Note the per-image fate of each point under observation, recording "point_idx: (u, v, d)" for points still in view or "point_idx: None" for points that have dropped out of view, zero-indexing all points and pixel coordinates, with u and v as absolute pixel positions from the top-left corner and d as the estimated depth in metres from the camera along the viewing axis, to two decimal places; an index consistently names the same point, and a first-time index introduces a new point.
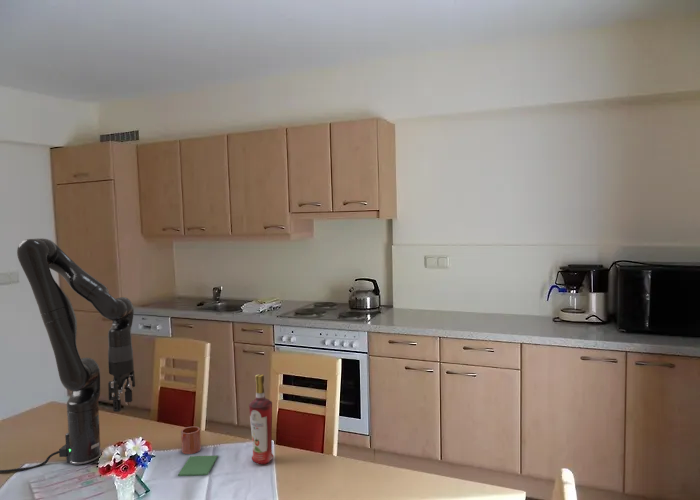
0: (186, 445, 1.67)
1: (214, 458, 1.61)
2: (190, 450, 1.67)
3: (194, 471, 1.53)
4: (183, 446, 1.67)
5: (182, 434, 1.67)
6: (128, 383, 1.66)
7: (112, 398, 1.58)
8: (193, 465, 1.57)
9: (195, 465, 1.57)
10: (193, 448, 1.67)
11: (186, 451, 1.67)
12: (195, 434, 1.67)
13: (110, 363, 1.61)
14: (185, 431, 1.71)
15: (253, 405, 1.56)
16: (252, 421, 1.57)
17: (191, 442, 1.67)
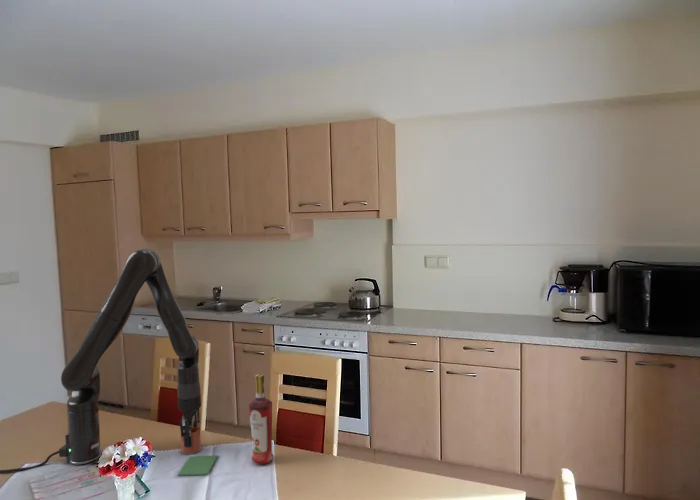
0: None
1: (214, 458, 1.61)
2: (190, 450, 1.67)
3: (194, 471, 1.53)
4: (183, 446, 1.67)
5: None
6: (195, 418, 1.71)
7: (184, 435, 1.63)
8: (193, 465, 1.57)
9: (195, 465, 1.57)
10: (193, 448, 1.67)
11: (186, 451, 1.67)
12: (195, 434, 1.67)
13: (180, 400, 1.66)
14: None
15: (253, 405, 1.56)
16: (252, 421, 1.57)
17: None
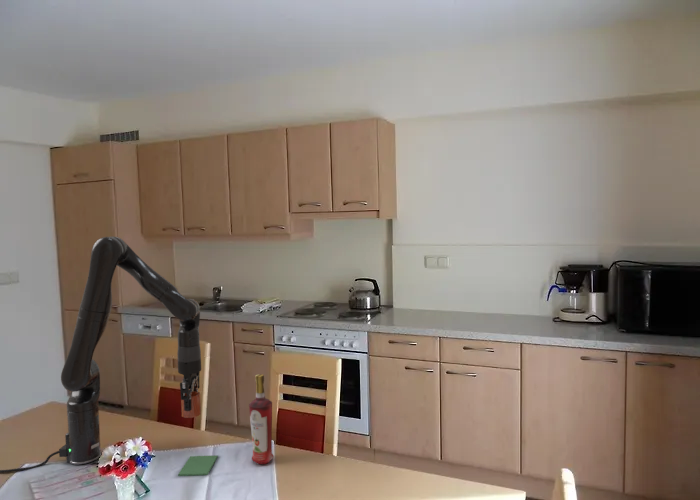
0: None
1: (214, 458, 1.61)
2: (190, 414, 1.66)
3: (194, 471, 1.53)
4: (183, 410, 1.66)
5: None
6: (195, 383, 1.70)
7: (184, 398, 1.62)
8: (193, 465, 1.57)
9: (195, 465, 1.57)
10: (193, 412, 1.66)
11: (186, 415, 1.66)
12: (195, 398, 1.66)
13: (180, 363, 1.65)
14: None
15: (253, 405, 1.56)
16: (252, 421, 1.57)
17: (191, 406, 1.66)
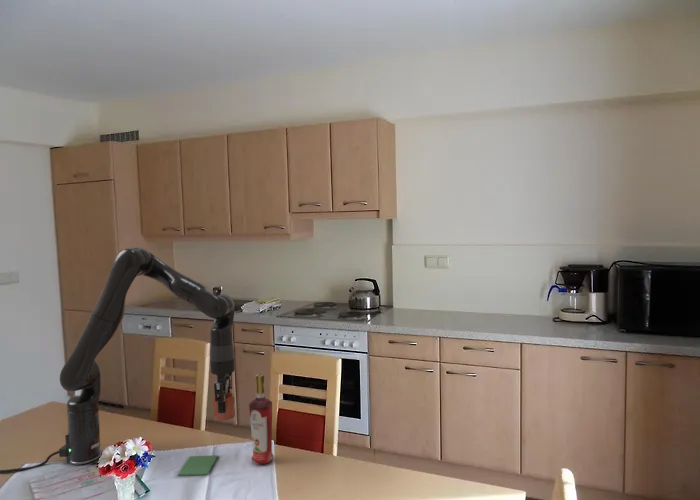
0: None
1: (214, 458, 1.61)
2: (224, 416, 1.57)
3: (194, 471, 1.53)
4: (217, 412, 1.57)
5: None
6: (228, 384, 1.61)
7: (219, 399, 1.53)
8: (193, 465, 1.57)
9: (195, 465, 1.57)
10: (227, 414, 1.57)
11: (220, 417, 1.57)
12: (229, 399, 1.57)
13: (213, 362, 1.56)
14: None
15: (253, 405, 1.56)
16: (252, 421, 1.57)
17: None
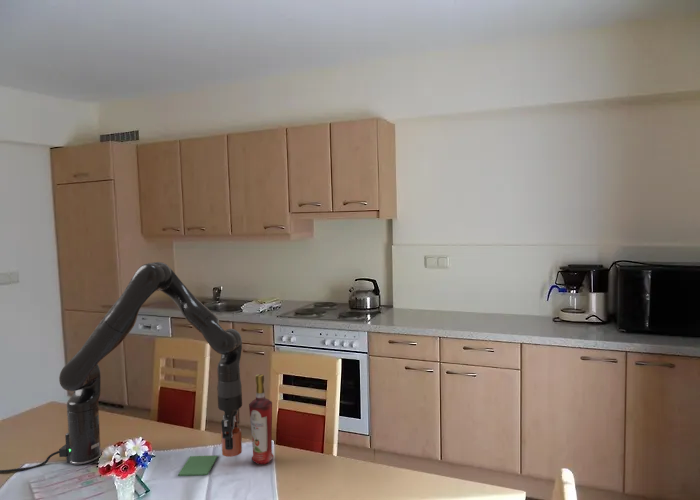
0: None
1: (214, 458, 1.61)
2: (231, 452, 1.56)
3: (194, 471, 1.53)
4: (224, 448, 1.56)
5: None
6: (235, 419, 1.60)
7: (226, 436, 1.52)
8: (193, 465, 1.57)
9: (195, 465, 1.57)
10: (235, 450, 1.56)
11: (227, 453, 1.56)
12: (237, 435, 1.56)
13: (221, 398, 1.55)
14: None
15: (253, 405, 1.56)
16: (252, 421, 1.57)
17: None
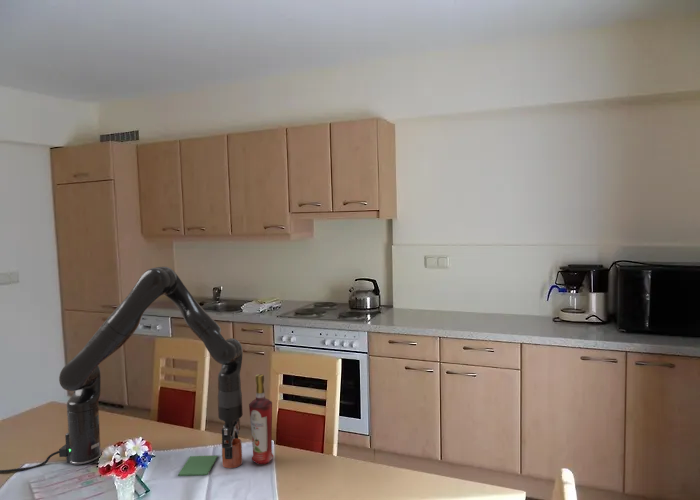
0: (228, 459, 1.56)
1: (214, 458, 1.61)
2: (232, 464, 1.56)
3: (194, 471, 1.53)
4: (224, 460, 1.56)
5: None
6: (236, 428, 1.60)
7: (226, 446, 1.51)
8: (193, 465, 1.57)
9: (195, 465, 1.57)
10: (235, 462, 1.56)
11: (228, 465, 1.56)
12: (237, 447, 1.56)
13: (221, 408, 1.55)
14: None
15: (253, 405, 1.56)
16: (252, 421, 1.57)
17: (233, 455, 1.56)
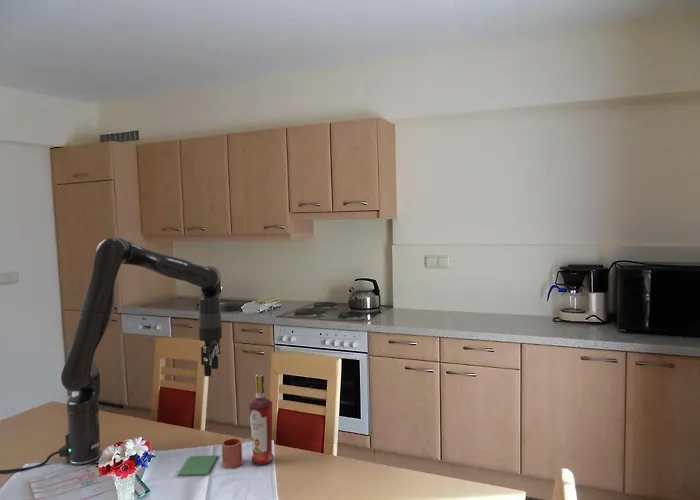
0: (228, 459, 1.56)
1: (214, 458, 1.61)
2: (232, 464, 1.56)
3: (194, 471, 1.53)
4: (224, 460, 1.56)
5: (223, 447, 1.56)
6: (216, 350, 1.71)
7: (204, 363, 1.62)
8: (193, 465, 1.57)
9: (195, 465, 1.57)
10: (235, 462, 1.56)
11: (228, 465, 1.56)
12: (237, 447, 1.56)
13: (201, 329, 1.66)
14: (225, 443, 1.60)
15: (253, 405, 1.56)
16: (252, 421, 1.57)
17: (233, 455, 1.56)
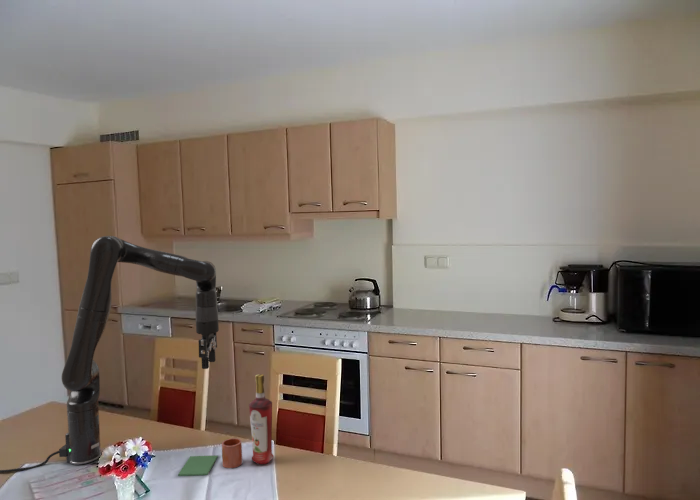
0: (228, 459, 1.56)
1: (214, 458, 1.61)
2: (232, 464, 1.56)
3: (194, 471, 1.53)
4: (224, 460, 1.56)
5: (223, 447, 1.56)
6: (213, 343, 1.74)
7: (202, 355, 1.65)
8: (193, 465, 1.57)
9: (195, 465, 1.57)
10: (235, 462, 1.56)
11: (228, 465, 1.56)
12: (237, 447, 1.56)
13: (198, 323, 1.69)
14: (225, 443, 1.60)
15: (253, 405, 1.56)
16: (252, 421, 1.57)
17: (233, 455, 1.56)
